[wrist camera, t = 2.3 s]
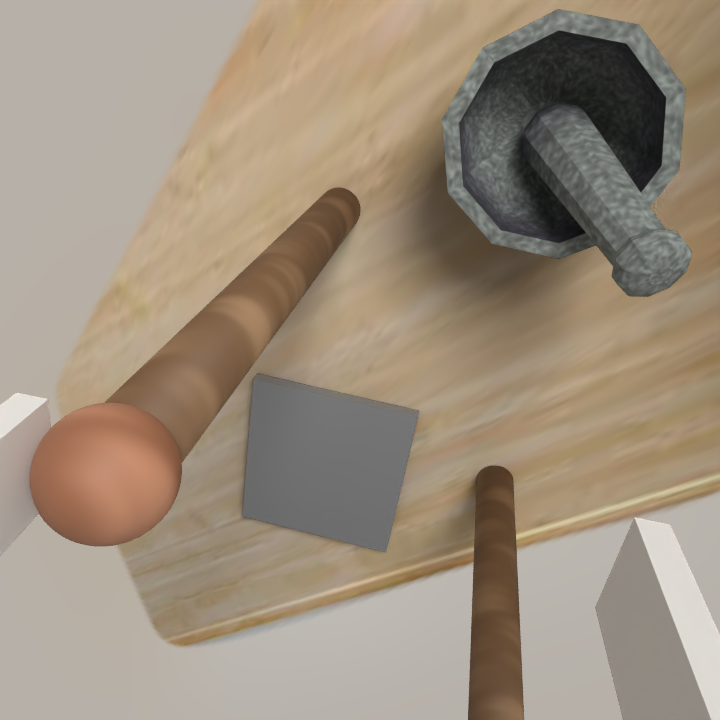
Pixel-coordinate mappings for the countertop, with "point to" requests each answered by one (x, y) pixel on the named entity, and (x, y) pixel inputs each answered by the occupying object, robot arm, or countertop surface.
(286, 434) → the slate pad
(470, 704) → the post
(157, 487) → the post
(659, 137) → the mortar and pestle
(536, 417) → the countertop surface
